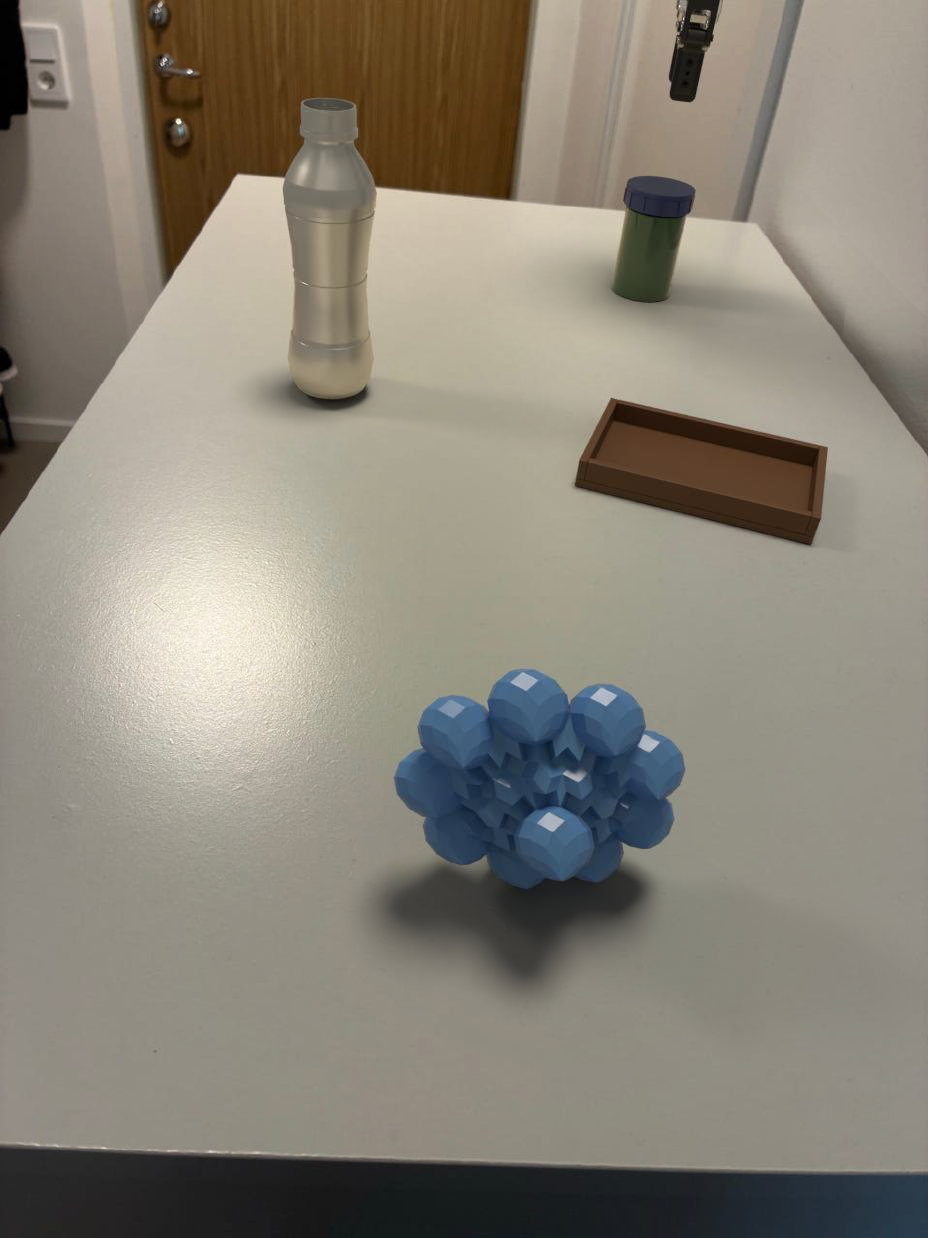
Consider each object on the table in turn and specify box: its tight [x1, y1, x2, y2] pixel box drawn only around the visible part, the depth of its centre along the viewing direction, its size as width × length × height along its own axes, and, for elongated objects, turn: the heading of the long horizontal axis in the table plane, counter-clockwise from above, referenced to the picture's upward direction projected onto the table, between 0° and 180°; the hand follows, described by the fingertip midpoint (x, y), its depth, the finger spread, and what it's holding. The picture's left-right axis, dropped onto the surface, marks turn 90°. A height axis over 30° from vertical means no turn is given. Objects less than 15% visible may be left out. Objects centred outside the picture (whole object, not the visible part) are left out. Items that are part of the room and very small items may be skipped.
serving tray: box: [574, 397, 829, 545], centre depth 67 cm, size 16×10×2 cm, turn 71°
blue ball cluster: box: [393, 668, 686, 890], centre depth 37 cm, size 12×7×12 cm, turn 95°
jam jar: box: [611, 205, 688, 303], centre depth 92 cm, size 6×6×10 cm
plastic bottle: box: [282, 97, 378, 400], centre depth 68 cm, size 6×7×20 cm
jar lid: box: [622, 175, 696, 217], centre depth 90 cm, size 6×6×2 cm
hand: (680, 90), depth 84 cm, fingers open, 7 cm apart
